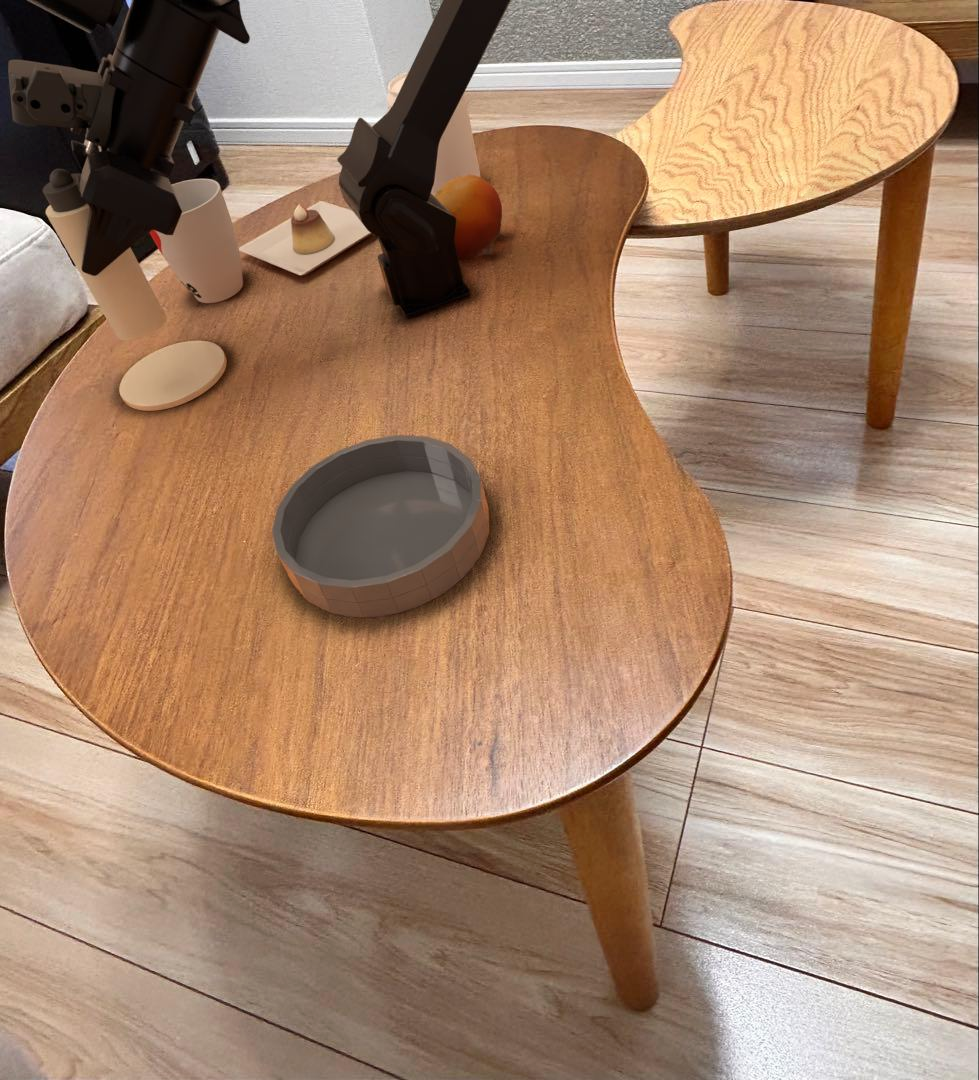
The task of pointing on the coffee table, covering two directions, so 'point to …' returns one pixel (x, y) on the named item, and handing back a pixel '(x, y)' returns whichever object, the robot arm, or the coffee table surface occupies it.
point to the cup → (203, 243)
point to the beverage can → (448, 142)
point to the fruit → (472, 214)
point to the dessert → (308, 238)
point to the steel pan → (382, 525)
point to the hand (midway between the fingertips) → (86, 261)
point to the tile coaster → (173, 375)
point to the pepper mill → (121, 281)
